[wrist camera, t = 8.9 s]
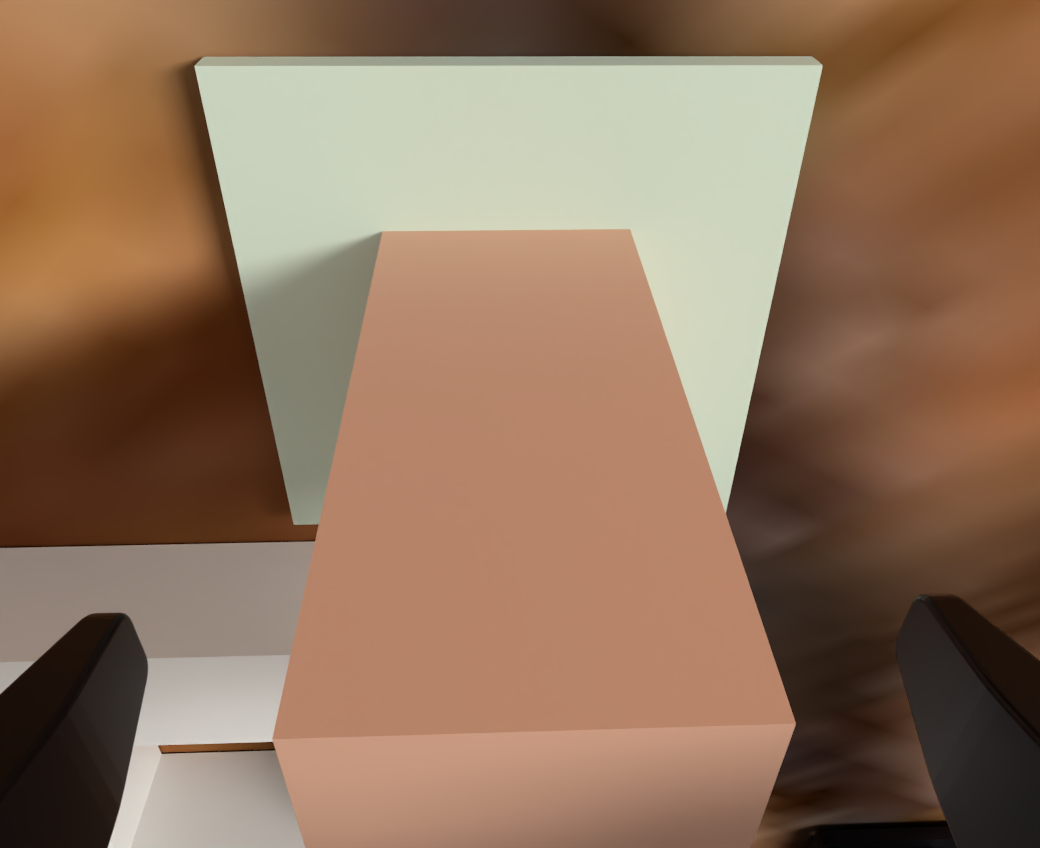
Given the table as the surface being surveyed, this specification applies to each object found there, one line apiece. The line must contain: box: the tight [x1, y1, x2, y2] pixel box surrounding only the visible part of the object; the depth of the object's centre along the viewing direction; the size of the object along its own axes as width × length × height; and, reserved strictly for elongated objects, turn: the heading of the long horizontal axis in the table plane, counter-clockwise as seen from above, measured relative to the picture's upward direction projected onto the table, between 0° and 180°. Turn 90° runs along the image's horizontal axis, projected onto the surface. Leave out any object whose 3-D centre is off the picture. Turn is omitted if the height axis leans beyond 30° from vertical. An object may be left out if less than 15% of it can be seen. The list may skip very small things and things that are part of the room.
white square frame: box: [0, 541, 315, 848], centre depth 20 cm, size 11×11×3 cm
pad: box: [194, 56, 823, 525], centre depth 15 cm, size 9×9×1 cm
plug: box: [272, 229, 796, 848], centre depth 11 cm, size 4×4×9 cm
